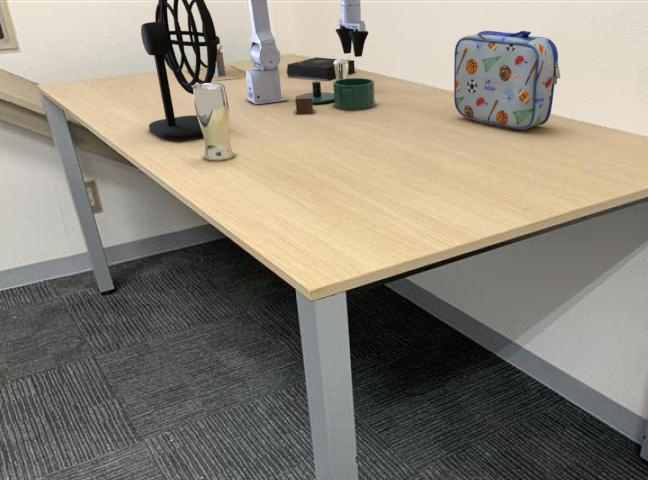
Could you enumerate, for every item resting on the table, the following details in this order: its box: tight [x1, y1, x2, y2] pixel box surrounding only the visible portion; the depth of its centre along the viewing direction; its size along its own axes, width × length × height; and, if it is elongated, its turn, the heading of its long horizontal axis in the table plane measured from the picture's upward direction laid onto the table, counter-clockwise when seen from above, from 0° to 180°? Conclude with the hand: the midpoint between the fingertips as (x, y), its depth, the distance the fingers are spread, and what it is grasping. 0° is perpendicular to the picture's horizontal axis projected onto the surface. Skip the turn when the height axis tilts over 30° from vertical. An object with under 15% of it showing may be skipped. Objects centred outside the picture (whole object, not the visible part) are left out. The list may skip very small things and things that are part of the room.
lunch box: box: [453, 30, 561, 130], centre depth 162 cm, size 28×10×22 cm, turn 45°
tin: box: [332, 77, 376, 111], centre depth 188 cm, size 11×17×6 cm
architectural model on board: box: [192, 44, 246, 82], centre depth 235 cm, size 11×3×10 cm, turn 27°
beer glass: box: [192, 82, 234, 162], centre depth 144 cm, size 7×7×15 cm
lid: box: [298, 80, 334, 105], centre depth 195 cm, size 12×12×5 cm
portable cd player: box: [286, 57, 356, 81], centre depth 231 cm, size 16×17×4 cm
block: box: [294, 94, 314, 115], centre depth 183 cm, size 4×4×4 cm
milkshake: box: [334, 56, 351, 81], centre depth 205 cm, size 5×5×10 cm
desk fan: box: [140, 0, 221, 141], centre depth 159 cm, size 27×18×35 cm, turn 36°
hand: (352, 54), depth 203 cm, fingers open, 7 cm apart
